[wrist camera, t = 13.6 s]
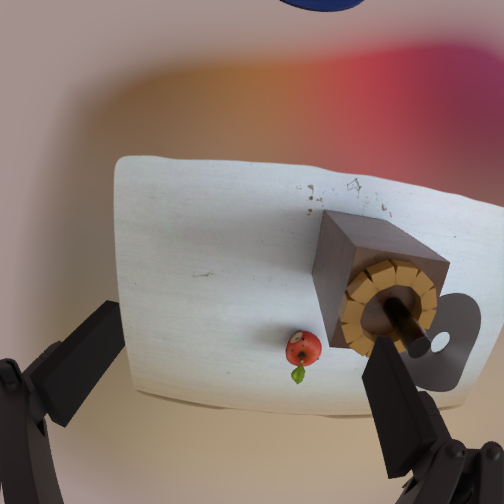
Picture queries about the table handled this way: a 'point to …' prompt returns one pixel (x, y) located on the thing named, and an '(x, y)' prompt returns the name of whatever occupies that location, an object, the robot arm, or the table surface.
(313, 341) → the apple
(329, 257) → the stand
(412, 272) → the ring
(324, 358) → the table surface
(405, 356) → the dark holed disc
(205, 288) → the table surface
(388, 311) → the post
